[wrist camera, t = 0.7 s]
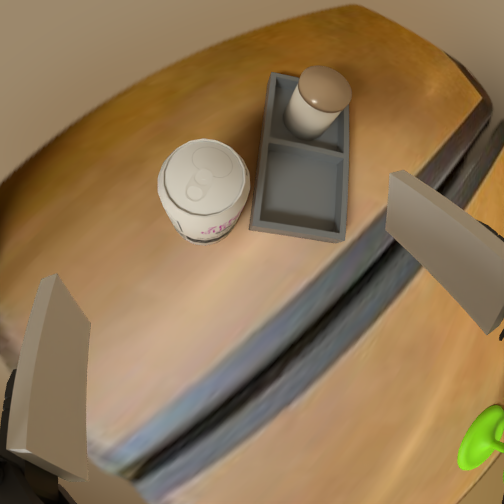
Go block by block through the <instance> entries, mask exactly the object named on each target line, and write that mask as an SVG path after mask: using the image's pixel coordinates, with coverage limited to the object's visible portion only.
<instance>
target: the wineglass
mask: <svg viewBox="0 0 504 504" xmlns="http://www.w3.org/2000/svg"><path fill="white" fill-rule="evenodd" d="M503 431H504V410H503V409H502V408H501V406H498V405H493V406H490V407H489V408H487V409H485V410H484V411H483V412H482V413H481V414H480V415H479V416H478V417H477V418H476V420H475V421H474V422H473V423H472V425H471V426H470V428H469V429H468V431H467V433H466V435H465V437H464V439H463V440H462V443H461V446H460V448H459V452H458V457H457V458H458V465H459V468H461V469H462V470H471V469H474V468H476V467H478V466H479V465H481V464H482V463H483V462H484V461H485V460H486V459H487V458H488V457H489V456H490V455H491V454H492V452H493V451H494V449H495V450H497V451H500V452H502V453H504V443H502V442H500V439H501V436H502V434H503ZM503 481H504V472H503Z"/></svg>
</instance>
